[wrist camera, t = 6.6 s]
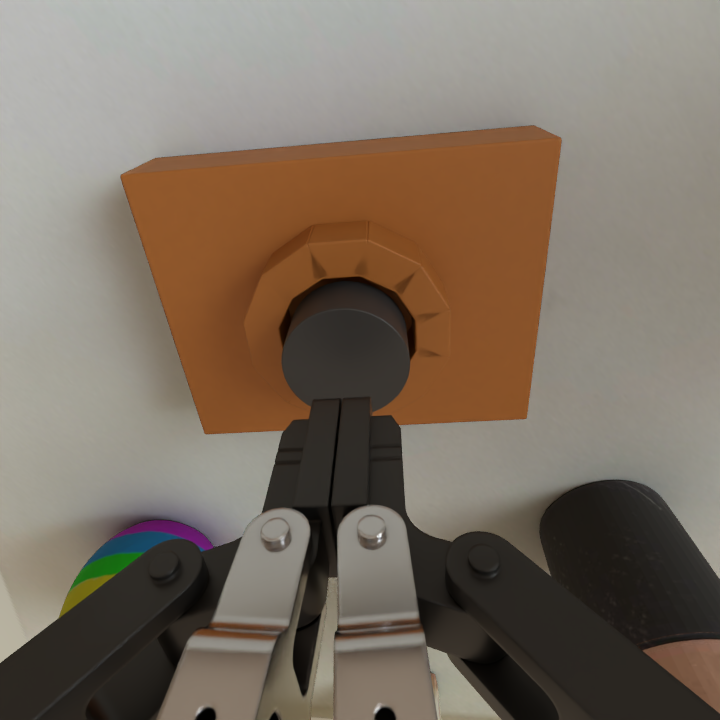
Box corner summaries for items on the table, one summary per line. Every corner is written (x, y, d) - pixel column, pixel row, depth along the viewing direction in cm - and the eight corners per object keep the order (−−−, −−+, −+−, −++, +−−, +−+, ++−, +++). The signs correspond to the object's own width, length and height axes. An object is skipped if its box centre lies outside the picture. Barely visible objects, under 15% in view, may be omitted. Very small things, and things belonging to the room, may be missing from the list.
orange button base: (535, 124, 17) (587, 148, 13) (510, 379, 23) (541, 452, 19) (153, 157, 18) (87, 189, 14) (222, 394, 24) (189, 467, 20)
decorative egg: (231, 594, 33) (182, 780, 25) (108, 576, 32) (13, 762, 24) (241, 515, 29) (186, 708, 20) (99, 492, 28) (-19, 682, 20)
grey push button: (404, 276, 16) (408, 303, 14) (408, 378, 18) (411, 414, 16) (281, 284, 16) (270, 312, 14) (299, 384, 18) (292, 420, 16)
